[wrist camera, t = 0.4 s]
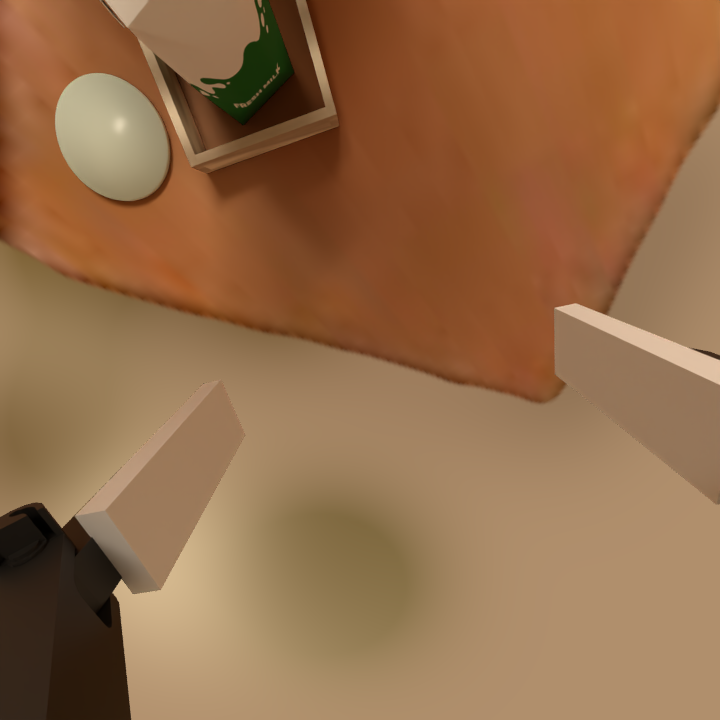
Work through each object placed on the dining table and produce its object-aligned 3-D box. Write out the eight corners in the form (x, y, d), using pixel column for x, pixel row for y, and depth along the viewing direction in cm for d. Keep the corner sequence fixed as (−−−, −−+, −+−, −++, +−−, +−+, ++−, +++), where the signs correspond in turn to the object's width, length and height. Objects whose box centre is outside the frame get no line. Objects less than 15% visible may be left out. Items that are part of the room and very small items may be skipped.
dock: (136, -1, 30) (109, -30, 27) (287, -66, 29) (277, -105, 26) (207, 173, 35) (191, 167, 32) (339, 125, 34) (336, 114, 30)
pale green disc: (37, 98, 33) (31, 96, 33) (136, 58, 32) (132, 54, 31) (98, 214, 37) (94, 214, 36) (189, 182, 36) (186, 181, 35)
